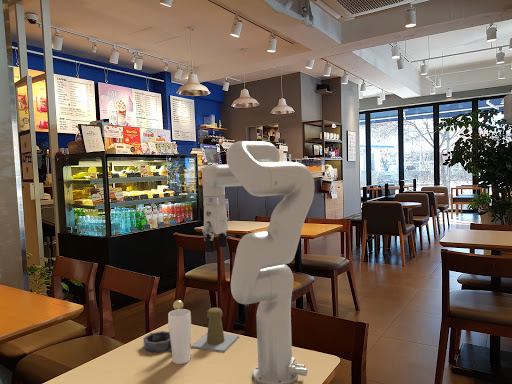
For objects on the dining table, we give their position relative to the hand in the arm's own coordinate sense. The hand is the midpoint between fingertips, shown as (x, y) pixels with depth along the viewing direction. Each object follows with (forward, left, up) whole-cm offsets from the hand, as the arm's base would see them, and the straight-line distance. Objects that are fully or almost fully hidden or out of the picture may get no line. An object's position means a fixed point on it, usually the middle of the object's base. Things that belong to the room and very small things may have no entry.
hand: (216, 249), depth 139 cm
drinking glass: (+2, +22, -31) cm, 38 cm away
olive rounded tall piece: (-2, +7, -30) cm, 31 cm away
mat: (-2, +7, -30) cm, 31 cm away
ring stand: (+12, +15, -30) cm, 36 cm away
